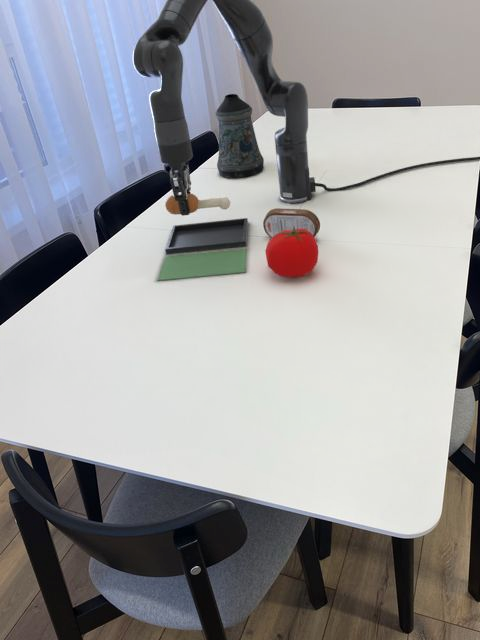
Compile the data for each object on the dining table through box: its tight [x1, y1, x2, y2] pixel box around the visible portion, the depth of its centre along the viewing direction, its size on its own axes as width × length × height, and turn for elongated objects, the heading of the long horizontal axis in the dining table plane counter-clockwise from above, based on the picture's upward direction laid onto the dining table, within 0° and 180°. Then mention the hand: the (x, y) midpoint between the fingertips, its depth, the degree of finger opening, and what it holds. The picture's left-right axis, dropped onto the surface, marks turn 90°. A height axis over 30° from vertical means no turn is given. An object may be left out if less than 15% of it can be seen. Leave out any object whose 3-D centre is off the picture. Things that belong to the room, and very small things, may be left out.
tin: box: [262, 207, 321, 239], centre depth 151 cm, size 15×3×8 cm, turn 71°
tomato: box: [265, 226, 319, 278], centre depth 135 cm, size 13×12×11 cm
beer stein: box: [215, 93, 265, 180], centre depth 197 cm, size 16×19×25 cm
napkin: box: [157, 247, 248, 282], centre depth 147 cm, size 22×13×1 cm, turn 89°
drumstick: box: [165, 193, 231, 215], centre depth 139 cm, size 16×5×5 cm, turn 89°
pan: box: [164, 217, 249, 256], centre depth 159 cm, size 22×16×2 cm
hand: (186, 210), depth 140 cm, fingers closed on drumstick, 4 cm apart
